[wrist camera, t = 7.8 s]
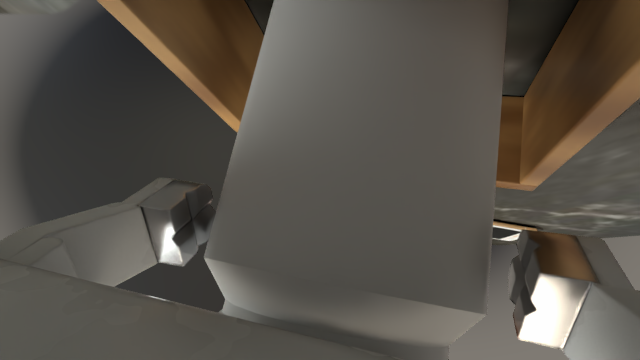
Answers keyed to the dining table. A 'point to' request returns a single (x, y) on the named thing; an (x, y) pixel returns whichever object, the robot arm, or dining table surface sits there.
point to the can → (366, 174)
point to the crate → (516, 112)
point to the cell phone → (507, 231)
